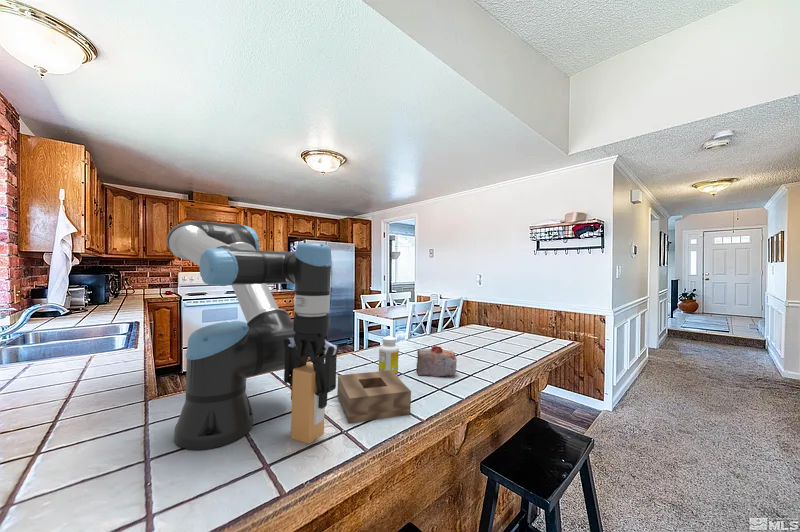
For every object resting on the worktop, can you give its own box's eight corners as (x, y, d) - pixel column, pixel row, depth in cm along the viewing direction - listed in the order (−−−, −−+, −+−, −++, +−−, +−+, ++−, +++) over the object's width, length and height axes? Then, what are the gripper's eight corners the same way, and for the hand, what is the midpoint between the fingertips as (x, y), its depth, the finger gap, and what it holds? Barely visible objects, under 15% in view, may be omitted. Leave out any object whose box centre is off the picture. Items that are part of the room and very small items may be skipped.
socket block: (348, 423, 76) (349, 398, 76) (337, 395, 91) (338, 375, 91) (410, 414, 82) (411, 391, 82) (390, 389, 97) (390, 370, 97)
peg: (290, 437, 69) (293, 369, 69) (306, 427, 74) (308, 362, 73) (308, 444, 67) (311, 373, 67) (323, 432, 72) (326, 366, 71)
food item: (452, 370, 117) (454, 344, 117) (457, 378, 109) (458, 350, 109) (415, 369, 117) (416, 342, 116) (417, 377, 109) (418, 348, 108)
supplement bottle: (398, 372, 112) (400, 336, 112) (396, 379, 105) (398, 341, 105) (379, 371, 113) (381, 335, 113) (376, 378, 106) (378, 339, 106)
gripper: (268, 311, 70) (264, 416, 71) (335, 320, 63) (331, 437, 63) (292, 307, 77) (289, 403, 77) (356, 315, 70) (352, 420, 70)
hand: (308, 418), depth 70 cm, fingers closed on peg, 5 cm apart
